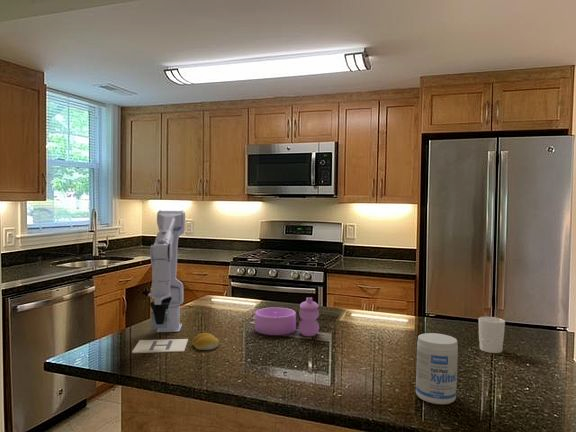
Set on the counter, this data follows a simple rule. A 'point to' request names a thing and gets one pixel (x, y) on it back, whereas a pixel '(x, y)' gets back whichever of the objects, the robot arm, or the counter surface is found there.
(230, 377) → the counter surface
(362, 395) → the counter surface
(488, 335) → the white cup
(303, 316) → the container set
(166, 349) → the letter board
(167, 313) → the slate-blue cube
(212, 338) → the bread roll
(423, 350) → the supplement tub
